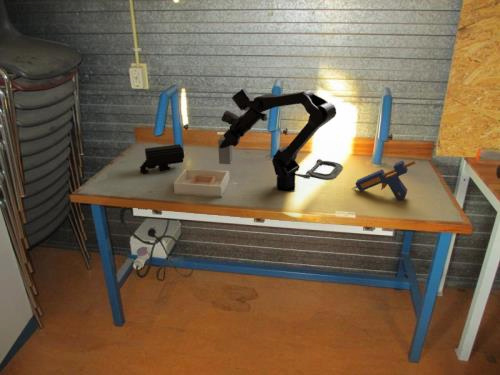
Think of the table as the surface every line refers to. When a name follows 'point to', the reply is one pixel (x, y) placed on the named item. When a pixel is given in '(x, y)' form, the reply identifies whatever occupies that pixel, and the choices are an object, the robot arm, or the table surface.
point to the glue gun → (387, 180)
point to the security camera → (162, 157)
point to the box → (202, 183)
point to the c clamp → (324, 176)
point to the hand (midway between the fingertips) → (221, 145)
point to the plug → (224, 153)
